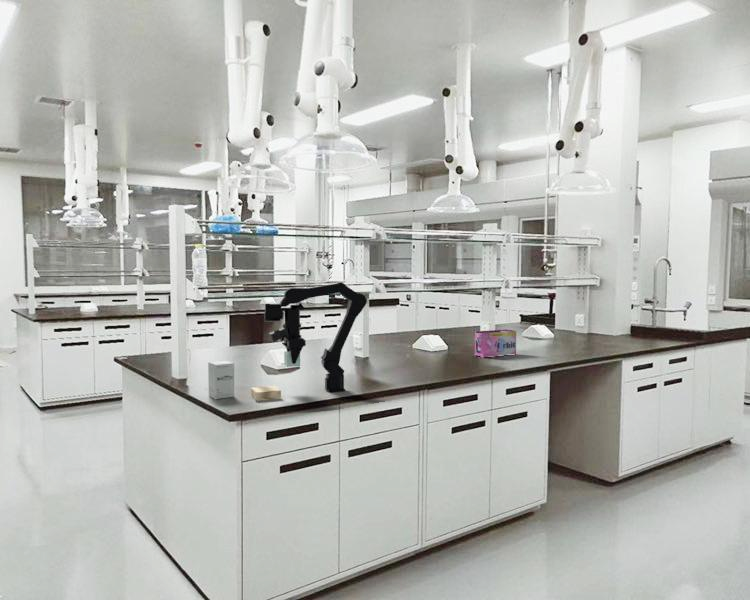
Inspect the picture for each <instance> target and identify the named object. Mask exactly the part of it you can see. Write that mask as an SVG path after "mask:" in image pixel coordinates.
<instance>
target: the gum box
mask: <svg viewBox="0 0 750 600" xmlns="http://www.w3.org/2000/svg"><path fill="white" fill-rule="evenodd" d="M507 354H516V355H517V330H514V329H513V330H512V329H495V330H494V329H493V330H478V331H477V330H475V334H474V356H475V355H478V356H481V357H488V356H498V355H507Z"/></svg>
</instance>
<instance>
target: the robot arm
mask: <svg viewBox="0 0 750 600" xmlns="http://www.w3.org/2000/svg"><path fill="white" fill-rule="evenodd" d="M333 294H340V295H341V296H342V297H344V298H345V299H346V300H347V301H348V302H347V305H346V313H345V315H344V318H343V320H342V322H341V325H340V327H339V328H338V331H337V333H336V336H335V337H334V340H333V343H332V344H331V346H330V347H329V349H327V348H324V349H323V350H324V351H323V354H322V356H320V359H321V361H320V362H321V366H322V367H323V368H324V370H325V371H326V372H327V373H326V375H325V378H324V389H325V390H326V391H327V392H329V393H332V392H333V393H334V392H344V391H345V392H346V388H345V374H344V373H345V370H344V369H343V367H342V366H340V361H341V355H342V350H343V349H344V345H345V343H346V341H347V338H349V337H348V336H349V334H350V332H351V330H352V328H353V325H354V323H355V321H356V319H357V318H358V316H359V315H360V313H361V312H362V311H363V310H364V308H365V306H366V305H367V302H368V301H367V297H366V295H364V294H363V293H359V292H357V291H354V289H351V288H350V287H349V286H347V285H346V284H345V283H344V282H336V283H331V284H325V285H318V286H313V287H305V288H304V287H290V288H289V287H288V288H287V289H285V292H284V294H283V298H282V299H281V300H280V302H279V303H265V304H264V322H265V323H266V322H267V323H269V322H272V323H275V322H281V320H283V319H284V323H283V324H282V327H281V328H278V329H276V330H273V331H270V332H268V335H269V337H270V340H271V342H273V343H275V342H277V341H280V342H281V344H282V345H283V346H284V347H285V350H286V352H287V351H290V353H291V359H292V363H293V364H295V363H296V361H297V359H298V356H299V354H300V355H301V352H302V350H303V348H304V347H305V346H306V343H307V342H306V339H305V338H303V337H302V334H301V327H302V324H301V311H300V310H306V306H305V307H304V306H303V304H302V303H301V302H303V301H305V300H308V299H310V298H311V299H313V298H316V297H322V296H328V295H333ZM287 306H290V307H287Z"/></svg>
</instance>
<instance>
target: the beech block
mask: <svg viewBox="0 0 750 600" xmlns="http://www.w3.org/2000/svg"><path fill="white" fill-rule="evenodd" d="M250 389H251V390H250V392H251V393H250V395H251V398H252V399H253V398H254V399H255V400H254V399H253V400H254V402H261V401H260V400H265V401H273V400H272V399H276V400H281V399H282V390H281V389H280V388H279V387H278V386H276V385H267V386H257V387H256V386H255V387H254V386H253V387H251V388H250Z"/></svg>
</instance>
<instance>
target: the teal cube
mask: <svg viewBox="0 0 750 600" xmlns="http://www.w3.org/2000/svg"><path fill="white" fill-rule="evenodd" d="M283 354H284V355H283V357H284V360H283V361H284V364H283V365H284V366H286V367H287V368H290V367H301V353H300V354H299V356H298V359H297V361H296V363H295V364H293V363H292V359H291V353H290V351H287V350H286V351H284V353H283Z"/></svg>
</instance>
